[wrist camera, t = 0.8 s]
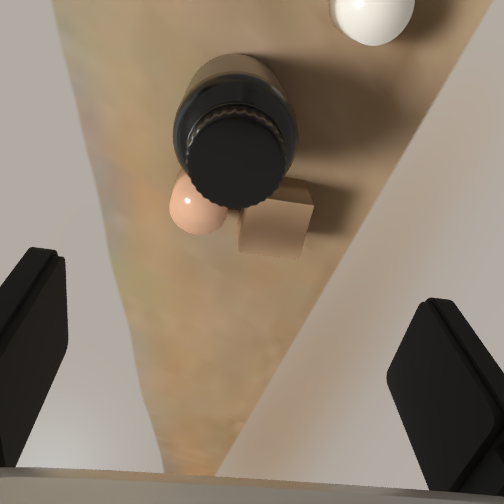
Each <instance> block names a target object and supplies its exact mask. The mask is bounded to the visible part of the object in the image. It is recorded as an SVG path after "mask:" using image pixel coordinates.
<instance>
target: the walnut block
mask: <svg viewBox="0 0 504 504" xmlns="http://www.w3.org/2000/svg"><path fill="white" fill-rule="evenodd" d="M313 208H314V204H313V201H312V198H311V196H310V193H309V190H308V188H307V185H306V182H305V180H298V179H292V178H286V177H283V180H282V181H281V182H280V183H279V187H278V189H276V190H275V191H274V192H273V194H272V195H271V196H269V197H267V199H266V200H265V201H263V202H260V203H259V204H257V205H255V206H250V207H249V208H240V214H239V219H238V248H239V252H242V253H249V254H257V255H264V256H272V257H279V258H287V259H294V260H299V257H300V254H301V250H302V247H303V243H304V240H305V236H306V233H307V229H308V226H309V222H310V219H311V215H312V212H313Z"/></svg>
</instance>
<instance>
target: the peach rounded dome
mask: <svg viewBox="0 0 504 504" xmlns="http://www.w3.org/2000/svg"><path fill="white" fill-rule="evenodd" d="M170 213H171V216H172V219H173V220H174V222H175V223H176V224H177V225H178V226H179V227H180V228H181V229H183V230H185V231H187V232H189V233H193V234H207V233H210V232H213V231H215V230H216V229H218V228H219V227H220V226H221V225H222V224H223V223H224V221H225V219H226V217H227V213H228V208H227V207H220V206H218V205H217V204H215V203H211V202H210V201H209V200H208V199H206V198H203V196H202V194H201V193H199V192H198V191H196V187H195V186H194V185H193V184H192V183H191V179H190V178H189V177H188V176H187V174H186V173H185V172H184V170H183V169H181V170H180V172H179V173H178V175H177V178H176V182H175V186H174V189H173V193H172V197H171V201H170Z"/></svg>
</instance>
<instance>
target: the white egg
mask: <svg viewBox="0 0 504 504" xmlns="http://www.w3.org/2000/svg"><path fill="white" fill-rule="evenodd" d="M414 4H415V0H329V13H330V17H331V20H332V22H333V24H334V26H335V27H336V28H337V30H338V31H340V32H341V33H342V34H344V35H346V36H348V37H350V38H352V39H354V40H356V41H358V42H360V43H362V44H365V45H370V46H377V45H382V44H385V43H387V42H390V41H391V40H393V39H394V38H396V37H397V36H398V35H399V34H400V33H401V32H402V31H403V30H404V28H405V27H406V26H407V24H408V22H409V20H410V18H411V16H412V13H413V9H414Z"/></svg>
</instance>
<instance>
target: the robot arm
mask: <svg viewBox="0 0 504 504" xmlns="http://www.w3.org/2000/svg"><path fill="white" fill-rule="evenodd" d="M66 294H67V293H66V269H65V259H64V257H60V256H58V254H57V251H55V250H51V249H44V248H36V247H30V248H29V249H28V250H27V252H26V253H25V254H24V256H23V257H22V258H21V260H20V261H19V262H18V264H17V265H16V266H15V268H14V269H13V270H12V272H11V273H10V274H9V276H8V277H7V278H6V280H5V281H4V283H3V284H2V285H1V287H0V504H504V373H503V371H502V370H501V369H500V367H499V366H498V364H497V363H496V362H495V361H494V359H493V357H492V356H491V354H490V353H489V352H488V350H487V349H486V347H485V346H484V345H483V343H482V342H481V340H480V339H479V338H478V336H477V335H476V334H475V332H474V330H473V329H472V327H471V326H470V325H469V323H468V322H467V320H466V319H465V318H464V316H463V315H462V313H461V312H460V311H459V309H458V308H457V306H456V305H455V303H454V302H453V301H451V300H447V299H439V298H428V299H427V300H426V301H425V302H422V303H420V304H419V306H418V308H417V310H416V312H415V314H414V316H413V319H412V321H411V323H410V325H409V327H408V329H407V331H406V333H405V335H404V337H403V340H402V342H401V344H400V346H399V348H398V350H397V352H396V354H395V356H394V358H393V360H392V363H391V365H390V367H389V369H388V371H387V384H388V387H389V389H390V392H391V394H392V397H393V400H394V402H395V405H396V407H397V410H398V412H399V415H400V417H401V420H402V422H403V425H404V427H405V430H406V432H407V435H408V437H409V440H410V443H411V445H412V447H413V450H414V453H415V455H416V458H417V460H418V463H419V465H420V467H421V470H422V473H423V475H424V478H425V480H426V483H427V485H428V488H429V491H428V490H415V489H399V488H386V487H385V488H384V487H371V486H357V485H341V484H326V483H311V482H296V481H295V482H294V481H279V480H262V479H248V478H231V477H215V476H198V475H181V474H164V473H146V472H129V471H111V470H86V469H63V468H40V467H39V468H38V467H28V468H27V467H26V468H25V467H17V468H16V464H17V462H18V460H19V458H20V455H21V453H22V450H23V448H24V446H25V444H26V441H27V439H28V437H29V435H30V433H31V430H32V428H33V426H34V423H35V421H36V419H37V417H38V414H39V412H40V410H41V407H42V405H43V403H44V401H45V398H46V396H47V394H48V391H49V389H50V387H51V384H52V382H53V380H54V378H55V376H56V373H57V371H58V369H59V366H60V364H61V362H62V360H63V357H64V355H65V353H66V349H67V345H68V319H67V296H66Z"/></svg>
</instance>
